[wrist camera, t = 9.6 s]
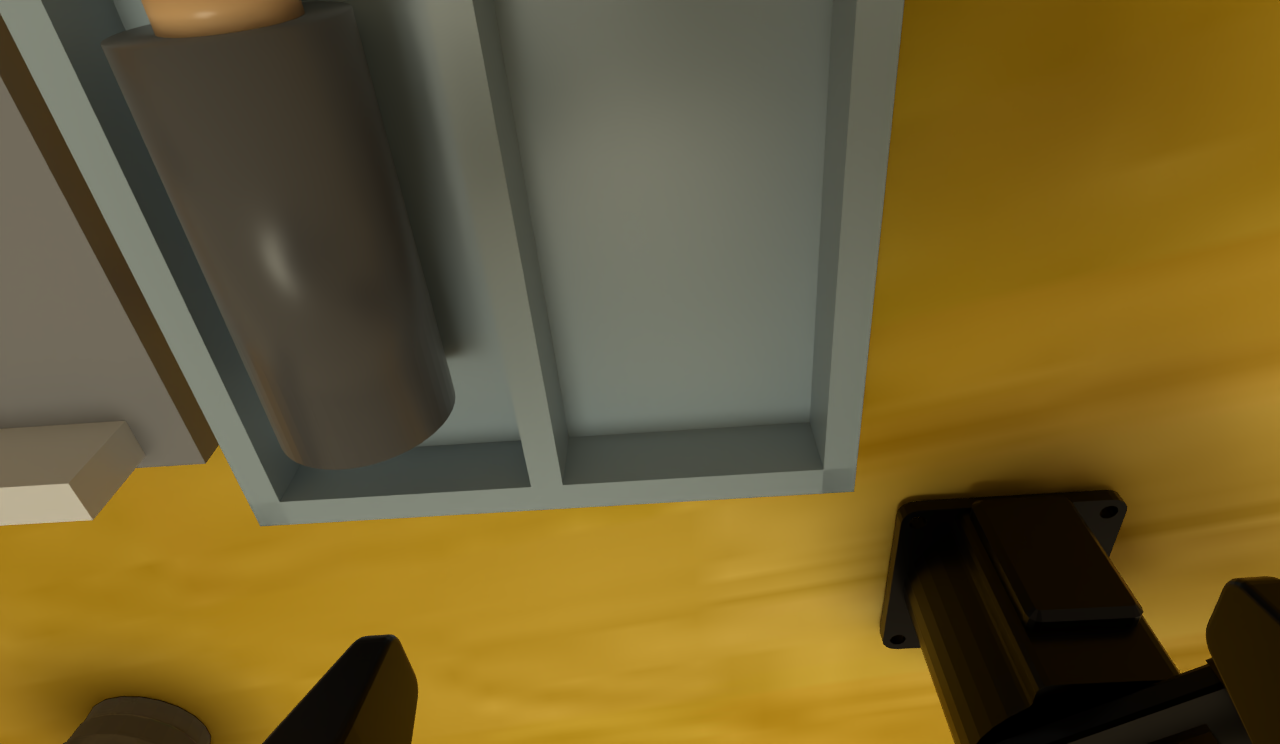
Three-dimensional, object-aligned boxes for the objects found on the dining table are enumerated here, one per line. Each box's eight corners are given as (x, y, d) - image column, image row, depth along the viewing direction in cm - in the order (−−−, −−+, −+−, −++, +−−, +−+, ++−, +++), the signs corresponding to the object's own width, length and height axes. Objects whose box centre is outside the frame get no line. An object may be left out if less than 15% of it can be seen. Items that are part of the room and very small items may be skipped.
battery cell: (473, 361, 19) (427, 468, 16) (321, 366, 20) (246, 471, 16) (375, -42, 14) (278, -7, 11) (173, -24, 15) (21, 14, 11)
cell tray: (833, 429, 21) (853, 491, 19) (296, 462, 22) (260, 526, 20) (892, -342, 12) (943, -382, 10) (-16, -244, 13) (-139, -261, 11)
